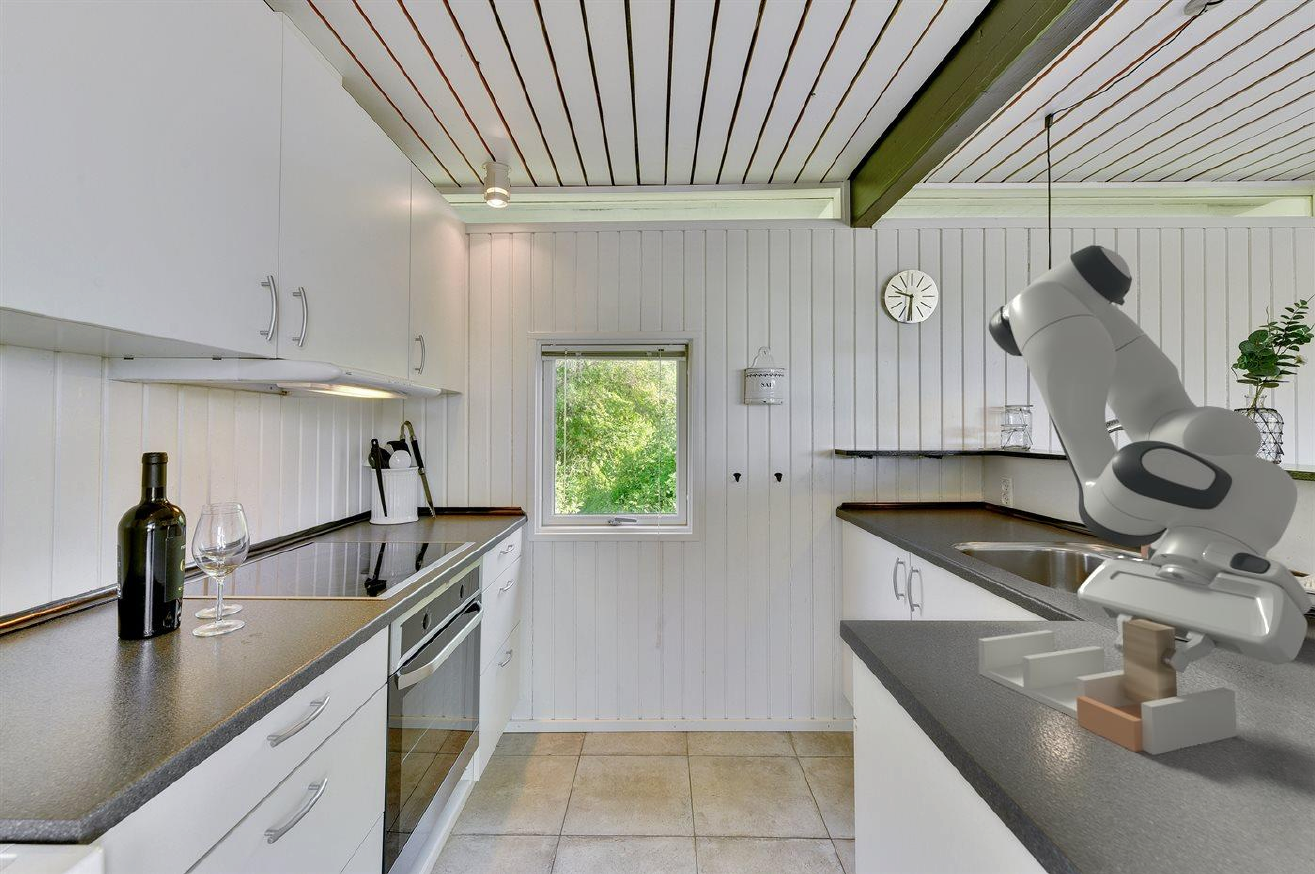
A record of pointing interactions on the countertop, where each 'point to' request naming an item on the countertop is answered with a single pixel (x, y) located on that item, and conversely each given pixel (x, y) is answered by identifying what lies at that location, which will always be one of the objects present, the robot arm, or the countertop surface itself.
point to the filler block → (1147, 661)
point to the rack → (1104, 695)
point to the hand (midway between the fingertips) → (1145, 659)
